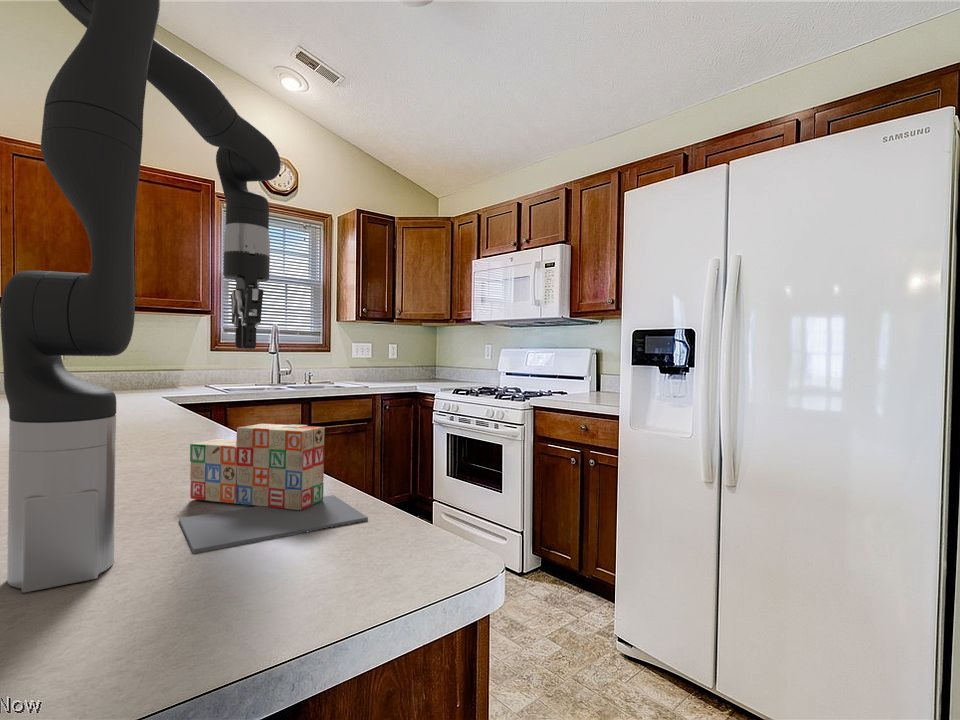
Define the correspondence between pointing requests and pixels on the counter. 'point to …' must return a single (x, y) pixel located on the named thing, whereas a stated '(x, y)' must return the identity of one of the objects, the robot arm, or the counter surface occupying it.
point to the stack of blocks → (261, 467)
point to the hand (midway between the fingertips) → (245, 347)
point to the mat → (264, 523)
